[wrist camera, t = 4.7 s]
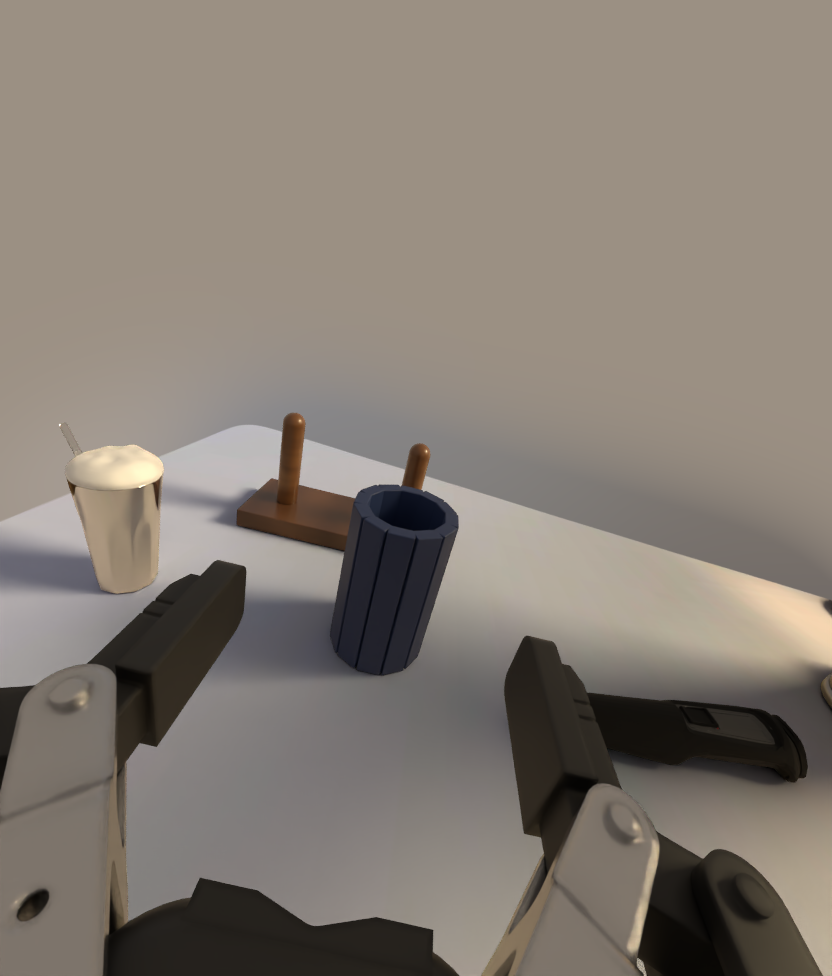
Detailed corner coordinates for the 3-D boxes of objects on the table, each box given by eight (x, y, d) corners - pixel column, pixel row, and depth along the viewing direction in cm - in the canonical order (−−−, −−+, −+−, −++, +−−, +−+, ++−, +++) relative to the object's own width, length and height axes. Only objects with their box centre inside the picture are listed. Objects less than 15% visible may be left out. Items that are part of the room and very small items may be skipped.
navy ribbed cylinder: (422, 614, 29) (457, 498, 25) (415, 684, 24) (459, 549, 20) (344, 596, 29) (366, 476, 25) (319, 662, 24) (343, 521, 19)
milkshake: (114, 547, 28) (98, 414, 24) (183, 567, 28) (179, 436, 24) (51, 586, 24) (19, 434, 20) (133, 609, 24) (117, 461, 20)
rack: (430, 530, 41) (456, 440, 36) (426, 570, 34) (457, 467, 30) (270, 491, 40) (277, 396, 36) (236, 525, 34) (240, 414, 30)
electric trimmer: (537, 698, 25) (555, 664, 24) (753, 727, 27) (781, 696, 25) (557, 761, 22) (579, 725, 20) (804, 790, 23) (839, 758, 22)
